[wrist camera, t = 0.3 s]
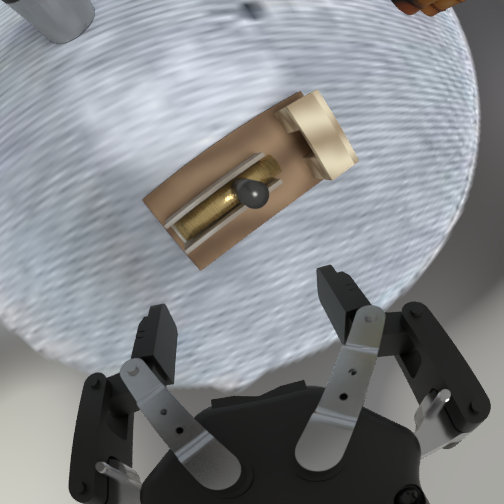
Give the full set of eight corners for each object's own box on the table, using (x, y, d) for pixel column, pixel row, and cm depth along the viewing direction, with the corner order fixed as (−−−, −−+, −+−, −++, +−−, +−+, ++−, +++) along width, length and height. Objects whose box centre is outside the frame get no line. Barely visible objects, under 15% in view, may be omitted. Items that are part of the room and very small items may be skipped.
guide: (143, 199, 37) (134, 205, 31) (298, 92, 37) (316, 82, 31) (200, 268, 43) (202, 286, 36) (341, 163, 42) (364, 165, 36)
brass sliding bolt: (175, 221, 38) (170, 241, 28) (265, 154, 37) (292, 151, 28) (188, 237, 39) (189, 263, 29) (277, 172, 39) (307, 175, 29)
